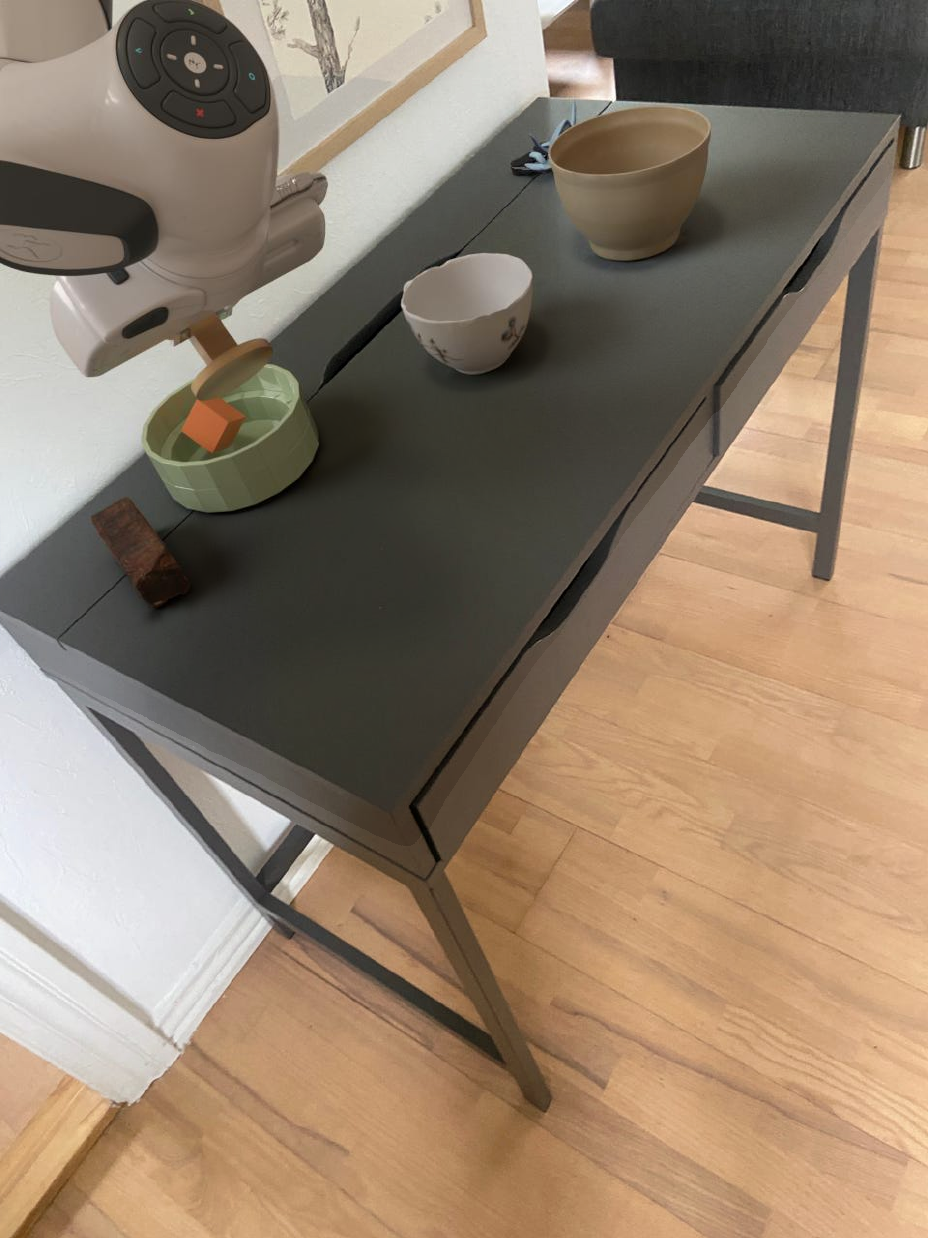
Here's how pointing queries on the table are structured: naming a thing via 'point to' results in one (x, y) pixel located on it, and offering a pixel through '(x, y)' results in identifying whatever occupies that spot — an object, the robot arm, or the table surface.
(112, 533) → the brick
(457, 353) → the teacup
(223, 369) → the wooden pedestal tray
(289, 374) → the sage green basin
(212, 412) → the block
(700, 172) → the planter bowl
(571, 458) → the table surface
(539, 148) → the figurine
